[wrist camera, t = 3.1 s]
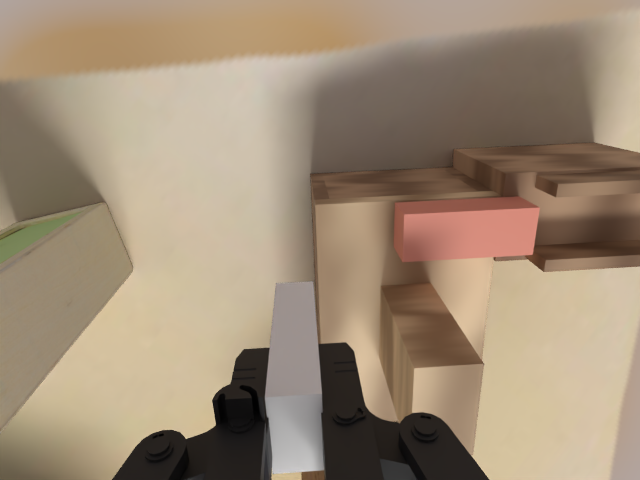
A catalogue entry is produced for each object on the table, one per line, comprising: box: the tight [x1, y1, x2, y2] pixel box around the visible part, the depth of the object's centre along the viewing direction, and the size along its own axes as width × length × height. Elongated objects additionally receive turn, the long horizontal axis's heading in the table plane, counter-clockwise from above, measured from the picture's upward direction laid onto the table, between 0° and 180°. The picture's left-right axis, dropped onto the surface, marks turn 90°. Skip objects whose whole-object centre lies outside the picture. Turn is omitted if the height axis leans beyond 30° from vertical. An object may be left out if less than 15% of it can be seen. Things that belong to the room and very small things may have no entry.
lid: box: [315, 191, 501, 455], centre depth 27 cm, size 12×18×10 cm, turn 2°
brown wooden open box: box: [310, 143, 640, 344], centre depth 34 cm, size 24×20×12 cm
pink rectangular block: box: [394, 196, 540, 262], centre depth 27 cm, size 8×3×2 cm, turn 92°
